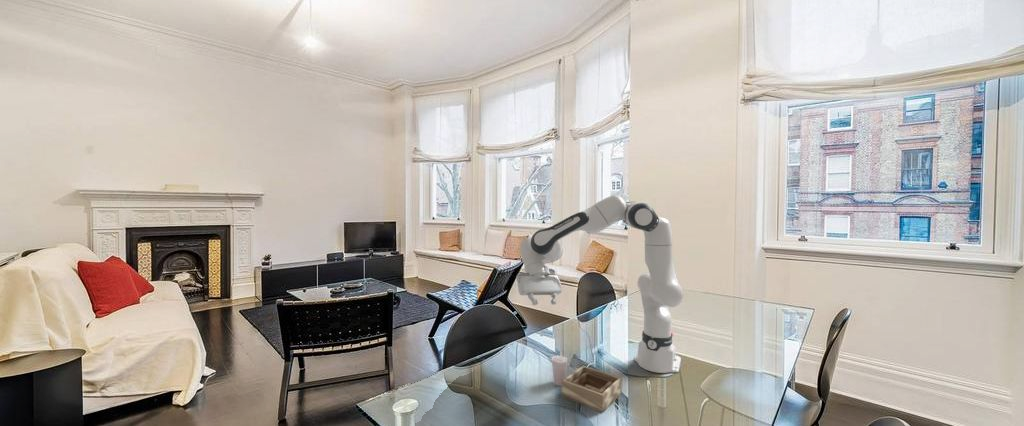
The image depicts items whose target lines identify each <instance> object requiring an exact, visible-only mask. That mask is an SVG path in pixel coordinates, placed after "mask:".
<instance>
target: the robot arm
mask: <svg viewBox="0 0 1024 426" xmlns="http://www.w3.org/2000/svg"><path fill="white" fill-rule="evenodd" d="M619 221H622V222H624V223H625V224H626V225H628V226H629V227H631V228H634V229H637V230H641V231H643V235H644V262H645V264H646V266H647V270H648V272H644V273H642V274H640V275H639V277H638V279H637V283H636V284H637V287H638V290H639V292H640V296H641V303H642V308H643V330H642V334H641V341H639V342H638V346H637V355H636V356H634V357H633V360H634V361H635V362H636V363H637V364H638V366H639V367H640V368H642V369H643V370H646V371H649V372H652V373H657V374H658V373H659V374H668V373H679V372H680V367H681V362H682V358H681V356H679V355H677V353H676V352H677V348H676V345H674V343H673V336H674V332H673V331H672V323H673V322H672V319H673V318H672V314H671V312H670V310H669V308H676V307H678V306H679V305H680V304H681V303H682V301H683V300H684V297H685V296H684V290H683V289H682V287H681V285H680V283H679V280H678V276H677V273H676V269H675V265H674V250H673V247H674V245H673V243H674V242H673V241H674V240H673V233H672V231H673V230H672V227H671V226H672V225H671V222H670V221H669V220H668V219H667V218H665V217H662V216H658V214H657V213H656V212H655V209H654V208H653V207H652V206H651V205H650V204H648V203H645V202H642V201H627V202H626V201H625V199H624V198H623V197H621V196H619V195H618V194H612V195H610V196H608V197H605V198H603V199H602V200H600V201H598V202H596V203H594V204H593V205H592V206H590V207H588V208H586V209H585V210H582V211H580V212H579V211H578V212H576V213H574V214H572V215H570V216H568V217H566V218H565V219H562V220H561V221H558V222H557V223H555V224H554V225H551V226H550V227H546V228H542V229H539V230H536V231H535V232H534V233H533V235H532V236H529V237H526V238H525V239H523V240H522V241H521V242H520V245H519V251H520V256H521V261H522V263H523V266H524V268H523V269H524V273H523V272H519V273H518V274H516V277H515V278H516V281H517V289H518V293H519V294H520V296H527V298H528V299H529V300H530V302H531V304H532V305H533V306H536V305H538V303H539V301H538V299H536V298H535V297H534V296H550V297H551V298H552V299H551V300H550V303H551V305H557V296H558V295H560V294H561V293H563V286H562V283H561V280H560V278H559V277H558V275H557V274H558V273H557V270H556V269H555V268H554V269H553V268H552V267H549V266H547V265H545V264H548V263H553V262H556V261H558V260H559V259H561V257H562V256H563V253H564V248H563V245H562V244H561V242H559V241H560V240H561V239H563V238H565V237H568V236H569V235H571V234H572V233H575V232H579V231H583V232H587V233H591V234H598V233H600V232H602V231H604V230H605V229H607V228H609V227H611V226H612V225H613V224H615V223H616V222H619Z"/></svg>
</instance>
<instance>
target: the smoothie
mask: <svg viewBox="0 0 1024 426" xmlns="http://www.w3.org/2000/svg"><path fill="white" fill-rule="evenodd" d="M559 353H560V354H559V355H553V356H552V357H551V360H550V361H551V364H552V366H551V367H552V374H553V385H556V386H561V387H562V380H564V379H565V378H566V377H565V376H566V371H567V365H568V362H569V361H568V358H567V357H566V356H564V355H563V347H560V352H559Z"/></svg>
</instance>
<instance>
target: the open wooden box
mask: <svg viewBox="0 0 1024 426" xmlns="http://www.w3.org/2000/svg"><path fill="white" fill-rule="evenodd" d="M622 389H623V378H622V377H619V376H617V375H613V374H610V373H607V372H604V371H600V370H598V369H595V368H592V367H588V366H585V365H582V366H580V367H579V368H577V369H576V370H574V371H573V372H572V373H571V374H569V375H568V376H567V377H565V378H564V380H562V385H561V398H563V399H566V400H569V401H572V402H574V403H577V404H579V405H582V406H584V407H587V408H589V409H591V410H594V411H597V412H599V411H600V413H602V412H603V413H604V412H605V411H606V410H607V409H608V408H609V407H610V406H611V405H613V403H614V402H615V401H616V400H617V399H618V398H619V397H620V396H621V395H622V391H623V390H622Z"/></svg>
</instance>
